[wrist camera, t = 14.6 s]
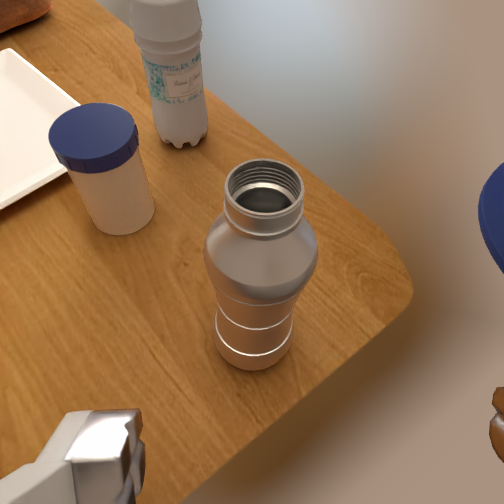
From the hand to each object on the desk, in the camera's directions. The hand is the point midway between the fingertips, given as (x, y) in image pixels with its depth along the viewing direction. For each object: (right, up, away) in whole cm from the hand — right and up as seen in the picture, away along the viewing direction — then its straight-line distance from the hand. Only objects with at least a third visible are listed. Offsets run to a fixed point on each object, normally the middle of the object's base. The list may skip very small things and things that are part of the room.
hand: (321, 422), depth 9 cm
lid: (-15, +14, +25) cm, 32 cm away
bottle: (-10, +18, +40) cm, 45 cm away
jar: (-15, +8, +34) cm, 38 cm away
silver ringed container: (-2, -4, +26) cm, 27 cm away
